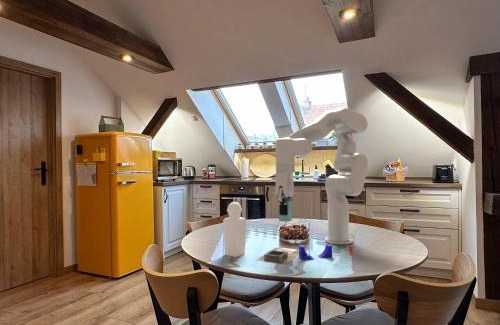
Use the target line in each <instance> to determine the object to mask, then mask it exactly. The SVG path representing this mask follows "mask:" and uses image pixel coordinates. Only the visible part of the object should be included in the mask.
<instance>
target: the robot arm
mask: <svg viewBox="0 0 500 325" xmlns="http://www.w3.org/2000/svg"><path fill="white" fill-rule="evenodd" d="M368 124H369V123H368V120H367V118H366V116H364V115H363V114H362V113H360V112H358V111H355V110H353V109H350V108H347V107H340V108H335V109H334V108H333V109H330V110H326V111H324V112H323V113H322V114H321V115H320V116H318V117H317V118H316V119H315V120H314V121H313V122H311V123H310V124H308V125H306V126H304V127H302V128H300V129H298V130H296V131H295V132H292V133H291V134H290V135H288V136H287V137H283V138H277V139H276V141H275V173H276V176H275V185H274V187H275V188H274V189H275V190H274V197H276V198H277V199H278V200H279V201H278V200H277V201H278V215H279V214H280V215H287V205H286V204H287V198H293V196H294V193H295V192H294V191H295V190H294V188H295V185H294V173H295V172H296V171H295V170H296V169H295V158H298V157H299V158H300V157H307V156H309V155H310V154H311V153H312V151H313V145H312V144H313V143H316V142H318V141H321V140H323V139H325V138H326V137H327V136H328V135H329V134H330V133H331V132H332V131H333V132H334V134H335V136H336V139H337V143H338V144H337V150H336V153H335V157H334V161H333V170H334V171H335V172H337V174H332V175H331V174H330V175H329V176H328V177H327V178H326V180H325V182H324V184H325V185H324V186H325V192H326V198H327V236H326V237H325V238H324V242H326V244H330V245H331V244H332V245H342V246H343V245H344V246H345V245H349V244H350V245H351V244H352V243H353V242H354V241H353V238H351V237H350V221H349V220H350V218H349V217H350V216H349V215H350V212H349V211H350V210H349V208H350V207H349V205H350V204H349V201H348V198H347V197H346V196H349V197H356V196H359V195H361V194H362V191H363V189H364V185H365V182H366V177H367V172H368V168H369V162H368V158H367V156H366V155H365V154H364V153H361V152H356V150H357V143H356V141H355V139H354V138H353V137H352V135H353V134H362V133H364V132H365V131H366V130H367V128H368ZM338 173H340V174H338ZM284 199H285V201H284Z"/></svg>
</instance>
